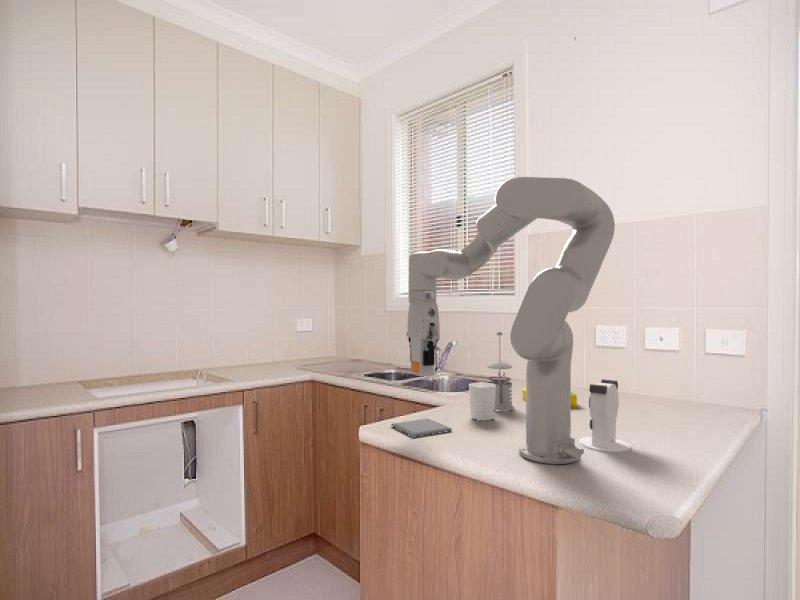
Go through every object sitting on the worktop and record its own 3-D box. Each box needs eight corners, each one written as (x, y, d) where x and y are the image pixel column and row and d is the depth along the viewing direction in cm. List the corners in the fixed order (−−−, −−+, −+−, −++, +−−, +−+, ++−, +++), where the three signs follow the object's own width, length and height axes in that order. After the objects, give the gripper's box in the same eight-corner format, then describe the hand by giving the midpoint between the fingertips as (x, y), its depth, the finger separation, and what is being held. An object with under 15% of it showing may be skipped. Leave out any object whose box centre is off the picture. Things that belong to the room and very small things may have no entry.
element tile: (579, 409, 147) (578, 394, 147) (533, 409, 147) (533, 394, 147) (562, 399, 162) (562, 386, 162) (521, 399, 162) (521, 386, 162)
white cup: (465, 419, 132) (465, 385, 132) (473, 414, 139) (473, 381, 139) (491, 423, 129) (491, 388, 129) (499, 416, 136) (498, 383, 136)
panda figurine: (588, 434, 117) (587, 376, 117) (636, 443, 110) (636, 381, 110) (572, 445, 108) (572, 383, 108) (624, 455, 101) (623, 388, 101)
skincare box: (410, 373, 125) (410, 330, 125) (423, 372, 126) (424, 329, 126) (420, 376, 119) (420, 331, 119) (434, 375, 121) (434, 331, 121)
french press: (512, 404, 152) (512, 330, 152) (518, 413, 140) (518, 332, 140) (483, 404, 153) (483, 330, 153) (486, 412, 141) (486, 332, 141)
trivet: (451, 431, 120) (451, 428, 120) (413, 437, 114) (413, 434, 114) (427, 421, 131) (427, 418, 131) (391, 426, 125) (391, 423, 125)
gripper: (452, 297, 117) (451, 367, 117) (418, 298, 132) (417, 359, 132) (427, 297, 113) (426, 369, 113) (395, 297, 129) (395, 360, 129)
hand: (422, 363), depth 123 cm, fingers closed on skincare box, 6 cm apart
